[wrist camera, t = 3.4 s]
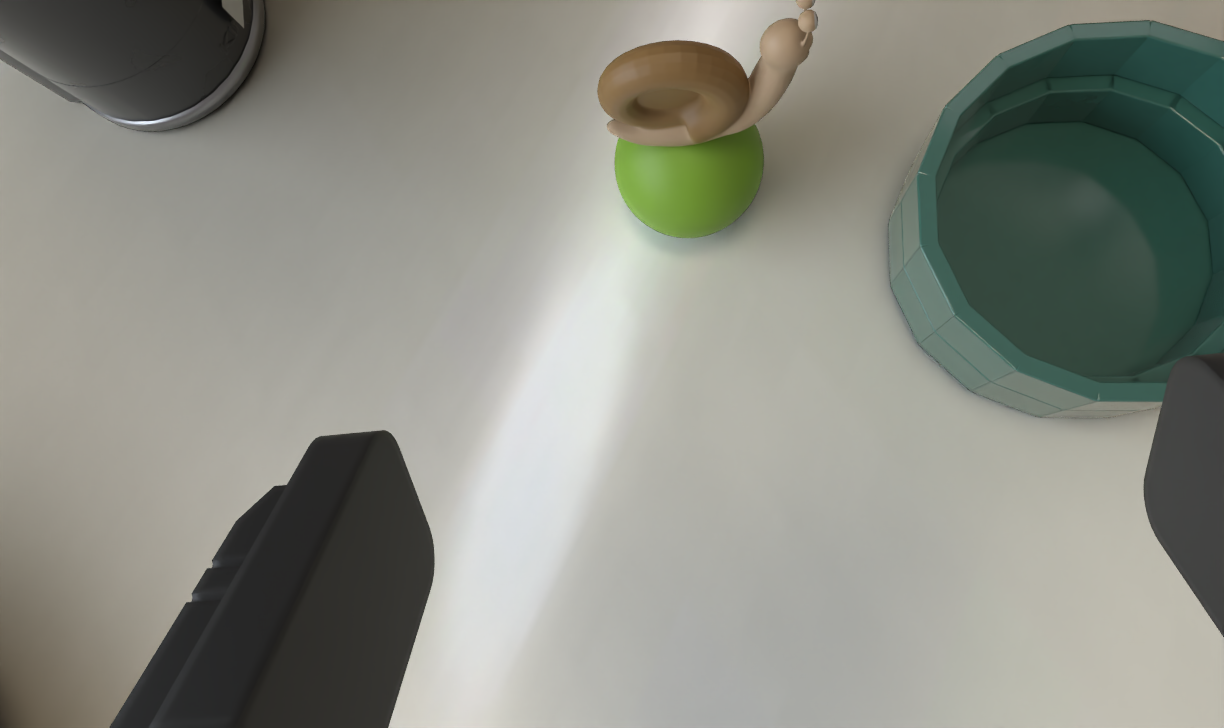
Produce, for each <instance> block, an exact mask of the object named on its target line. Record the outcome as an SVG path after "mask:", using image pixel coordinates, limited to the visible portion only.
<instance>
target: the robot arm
mask: <svg viewBox="0 0 1224 728" xmlns="http://www.w3.org/2000/svg"><path fill="white" fill-rule="evenodd" d="M264 23H265V12H264V3H263V0H0V59H1V60H2V61H4V62H6V63H7V64H9V65H11V66H12V67H14V68H15V69H17V70H19V71H20V72H22V73H24V74H25V75H27V76H29V77H30V78H32V79H34V80H35V81H37V82H38V83H40V84H42V85H43V86H45V87H47V88H48V89H50V90H52V91H53V92H55V93H57V94H58V95H60V96H61V97H63V98H65V99H66V100H68V101H70V102H80V101H82V102H83V103H84V104H85V105H86V106H88V107H89V108H90V109H92V110H93V111H95V112H96V113H98V114H100V115H101V116H103V117H104V118H106V119H108V120H109V121H111V122H113V123H115V124H117V125H120V126H123V127H126V128H129V129H134V130H140V131H163V130H169V129H175V128H178V127H181V126H185V125H187V124H190V123H192V122H195V121H197V120H199V119H201V118H203V117H204V116H206V115H208V114H209V113H211V112H212V111H214V110H215V109H217V108H218V107H219V106H221V105H222V104H223V103H224V102H225V101H226V100H227V99H228V98H229V97H230V96H231V95H232V94H233V93H234V92H235V91H236V90H237V89H238V87H239V86H240V85H241V84H242V82H243V81H244V80H245V78H246V77H247V75H248V73H249V72H250V70H251V68H252V66H253V64H254V62H255V60H256V58H257V55H258V52H259V49H260V46H261V42H262V38H263V33H264ZM1144 500H1145V507H1146V511H1147V515H1148V519H1149V522H1150V524H1151V527H1152V529H1153V531H1154V533H1155V536H1156V537H1157V539H1158V541H1159V542H1160V544H1161V545H1162V547H1163V548H1164V550H1165V551H1166V553H1167V554H1168V556H1169V557H1170V558H1171V560H1172V561H1173V563H1174V564H1175V566H1176V567H1177V569H1178V570H1179V572H1180V573H1181V575H1182V576H1183V578H1184V579H1185V581H1186V582H1187V584H1188V585H1189V587H1190V588H1191V590H1192V591H1193V593H1194V594H1195V595H1196V597H1197V598H1198V600H1199V601H1200V603H1201V604H1202V606H1203V607H1204V609H1205V610H1206V612H1207V613H1208V615H1209V616H1210V618H1211V619H1212V621H1213V622H1214V624H1215V625H1216V627H1217V628H1218V629H1219V631H1220V632H1221V634H1222V635H1223V637H1224V353H1216V354H1205V355H1194V356H1185V357H1183V358H1181V359H1180V360H1178V361H1177V362H1176V363H1175V365H1174V366H1173V368H1172V370H1171V372H1170V375H1169V378H1168V382H1167V386H1166V390H1165V394H1164V398H1163V402H1162V406H1161V411H1160V415H1159V419H1158V423H1157V427H1156V431H1155V435H1154V439H1153V444H1152V448H1151V452H1150V456H1149V460H1148V464H1147V468H1146V472H1145V478H1144ZM212 562H213V567H212V568H207V570H206V571H205V573H204V574H203V576H202V578H201V579H200V581H199V583H198V584H197V586H196V588H195V589H194V591H193V592H192V597H193V598H192V602H186V604H185V605H184V607H183V609H182V610H181V612H180V614H179V615H178V617H177V618H176V620H175V622H174V623H173V625H172V627H171V628H170V630H169V632H168V633H167V635H166V636H165V638H164V640H163V641H162V643H161V645H160V646H159V648H158V649H157V651H156V653H155V654H154V656H153V658H152V659H151V661H150V662H149V664H148V666H147V667H146V669H145V671H144V672H143V674H142V676H141V677H140V679H139V680H138V682H137V684H136V685H135V687H134V689H133V690H132V692H131V693H130V695H129V697H128V698H127V700H126V702H125V703H124V705H123V706H122V708H121V710H120V711H119V713H118V715H117V716H116V718H115V720H114V721H113V723H112V724H111V726H110V728H388V726H389V723H390V720H391V716H392V713H393V710H394V707H395V703H396V700H397V697H398V694H399V690H400V687H401V684H402V681H403V677H404V674H405V671H406V668H407V664H408V661H409V658H410V655H411V651H412V648H413V645H414V642H415V638H416V635H417V632H418V629H419V625H420V622H421V619H422V616H423V613H424V609H425V606H426V603H427V600H428V596H429V593H430V590H431V586H432V582H433V576H434V545H433V539H432V534H431V531H430V528H429V525H428V522H427V520H426V517H425V514H424V512H423V509H422V506H421V504H420V501H419V499H418V496H417V493H416V491H415V488H414V485H413V483H412V480H411V477H410V475H409V472H408V469H407V467H406V464H405V461H404V459H403V456H402V454H401V451H400V448H399V446H398V444H397V442H396V440H395V438H394V437H393V436H392V434H391V433H389V432H388V431H385V430H382V431H371V432H361V433H350V434H340V435H329V436H320V437H318V438H316V439H315V440H314V441H313V442H312V443H311V444H310V446H309V447H308V449H307V451H306V453H305V454H304V456H303V458H302V460H301V461H300V463H299V465H298V467H297V468H296V470H295V472H294V474H293V475H292V477H291V479H290V481H289V482H288V484H287V485H283V486H274V487H273V488H272V489H271V490H270V491H269V492H267V493H266V494H265V495H264V496H263V497H262V498H261V499H260V500H259V501H258V502H257V503H255V504H254V505H253V506H252V507H251V508H250V509H249V510H248V511H247V512H246V513H245V514H243V515H242V516H241V517H240V518H239V519H238V520H237V521H236V522H235V524H234V526H233V527H232V529H231V530H230V532H229V534H228V535H227V537H226V539H225V540H224V542H223V543H222V545H221V547H220V548H219V550H218V552H217V553H216V555H215V557H214V558H213V560H212Z"/></svg>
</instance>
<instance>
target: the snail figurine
mask: <svg viewBox="0 0 1224 728" xmlns="http://www.w3.org/2000/svg"><path fill="white" fill-rule="evenodd" d="M796 3H797V5H798V6H799V7H800V8H802V9H804V12H802V13H801V14H800V16H799V18H798V20H797V19H792V18H786V19H781V20H778V21H776V22H775V23H773V24H772V25H770V26H769V27H768V28H767V29H766V31H765V32H764V34H763V35H762V38H761V41H760V52H761V55H762V56H761V58H760V59H759V61H758V63H757V64H756V66H755V68H754V70H753V71H752V73H751V75H750V77H749V78H748V79H747V76H746V73H745V71H744V69H743V67H742V66H741V64H740V63H739V62H738V61H737V60H736V59H735V58H734V57H733V56H731V55H730V54H729V53H727V52H725V51H724V50H722V49H720V48H718V47H715V46H712V45H709V44H705V43H699V42H694V41H680V40H675V41H662V42H656V43H651V44H647V45H643V46H640V47H637V48H635V49H632V50H630V51H628V52H625V53H623V54H622V55H620V56H619V57H617V58H616V59H614V60H613V61H612V62H611V63H610V64H609V65H608V66H607V67H606V69H605V70H604V72H603V73H602V75H601V77H600V80H599V84H598V90H597V92H598V98H599V102H600V104H601V106H602V108H603V109H604V111H605V112H606V113H607V114H608V115H609V116H610V117H612V118H613V119H614V120H612V121H610V122H609V123H608V124H607V129H608V131H609V132H611V133H612V134H613V135H615V136H617V137H619V139H618V142H617V146H616V152H615V174H616V180H617V184H618V187H619V190H620V193H621V195H622V197H623V199H624V201H625V203H626V204H627V206H628V207H629V209H630V210H631V211H632V212H633V214H634V215H635V216H636V217H637V218H638V219H639V220H641V221H642V222H643V223H644V224H646V225H647V226H649V227H650V228H652V229H654V230H656V231H658V232H660V233H663V234H666V235H669V236H673V237H680V238H695V237H702V236H706V235H710V234H713V233H715V232H718V231H720V230H722V229H724V228H725V227H727V226H729V225H730V224H731V223H733V222H734V221H735V220H737V219H738V218H739V217H740V216H741V215H742V214H743V213H744V212H745V210H746V209H747V208H748V207H749V205H750V204H751V202H752V200H753V199H754V197H755V195H756V193H757V191H758V188H759V185H760V182H761V179H762V174H763V166H764V154H763V146H762V141H761V138H760V135H759V132H758V129H757V127H756V125H755V123H757V122H758V121H759V120H760V119H762V118H763V117H764V116H765V115H766V114H767V113H768V112H769V111H770V110H771V109H772V108H773V107H774V106H775V105H776V104H777V102H778V101H779V100H780V98H781V97H782V95H783V94H784V92H785V91H786V89H787V88H788V86H789V84H790V82H791V81H792V79H793V76H794V74H795V71H796V69H797V66H798V65H799V64H801V63H802V62H803V61H804V60H805V59H806V58H807V57H808V54H809V49H810V47H811V45H812V43H813V35H812V31H814V30H815V29H816V28H817V25H818V17H817V14H816V12H815V11H813V10H807V9H809V8H811V7H812V6H813V5H814V3H815V0H796Z"/></svg>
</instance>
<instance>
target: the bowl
mask: <svg viewBox="0 0 1224 728" xmlns="http://www.w3.org/2000/svg"><path fill="white" fill-rule="evenodd" d="M888 234H889V263H890V284H891V288H892V290H893V292H894V294H895V296H896V299H897V301H898V303H899V305H900V307H901V309H902V311H903V313H904V315H905V317H906V319H907V322H908V324H909V326H910V328H911V330H912V332H913V334H914V336H915V338H916V340H917V343H918V344H919V345H920V346H921V347H922V348H923V349H924V350H925V351H926V352H927V353H929V354H930V355H931V356H932V357H933V358H934V359H935V360H936V361H937V362H938V363H940V364H941V365H942V366H943V367H944V368H945V369H946V370H947V371H948V372H949V373H951V374H952V375H953V376H954V377H955V378H956V379H957V380H958V381H959V382H960V383H962V384H963V385H964V386H965V387H966V388H967V389H968V390H971V391H972V392H973V393H976V394H979V395H981V396H984V397H986V398H989V399H992V400H994V401H997V402H999V403H1002V404H1004V405H1007V406H1010V407H1012V408H1015V409H1017V410H1020V411H1023V412H1025V413H1028V414H1030V415H1033V416H1035V417H1053V418H1111V417H1116V416H1121V415H1125V414H1130V413H1135V412H1139V411H1144V410H1149V409H1154V408H1159V407H1161V406H1162V402H1163V398H1164V394H1165V390H1166V386H1167V382H1168V378H1169V375H1170V372H1171V370H1172V368H1173V366H1174V365H1175V363H1176V362H1177V361H1178V360H1180V359H1181V358H1183V357H1185V356H1194V355H1205V354H1216V353H1224V41H1221V40H1217V39H1214V38H1210V37H1207V36H1204V35H1200V34H1197V33H1193V32H1190V31H1187V30H1183V29H1180V28H1176V27H1173V26H1169V25H1166V24H1163V23H1159V22H1156V21H1150V20H1143V21H1124V22H1105V23H1086V24H1071V25H1067V26H1064V27H1062V28H1060V29H1057V30H1055V31H1052V32H1050V33H1048V34H1045V35H1043V36H1041V37H1038V38H1036V39H1033V40H1031V41H1029V42H1026V43H1024V44H1022V45H1019V46H1017V47H1015V48H1012V49H1010V50H1007V51H1005V52H1003V53H1000V54H999V55H998V56H995V57H994V58H993V59H992V60H991V61H990V62H989V63H988V64H987V65H986V66H985V67H984V68H983V69H982V70H981V71H980V72H979V73H978V74H977V75H976V76H975V77H974V78H973V79H972V80H971V81H970V82H969V83H968V84H967V85H966V86H965V87H964V88H963V89H962V90H961V91H960V92H959V93H958V94H957V95H956V96H955V97H954V98H953V99H952V100H951V101H950V102H948V103H947V104H946V105H945V107H944V109H943V110H942V112H941V114H940V115H939V117H938V119H937V121H936V123H935V124H934V126H933V128H932V130H931V131H930V133H929V135H928V137H927V139H926V141H925V142H924V144H923V146H922V148H921V149H920V151H919V153H918V155H917V157H916V158H915V160H914V162H913V164H912V166H911V168H910V170H909V172H908V175H907V177H906V180H905V182H904V185H903V187H902V190H901V192H900V194H899V197H898V199H897V202H896V204H895V207H894V209H893V212H892V214H891V217H890V219H889V224H888Z"/></svg>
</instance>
